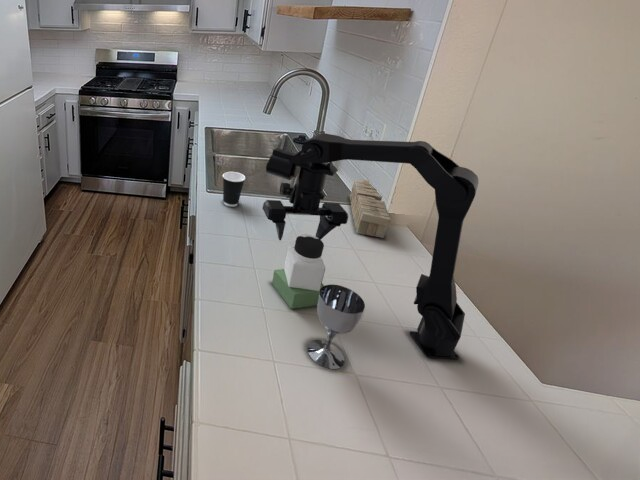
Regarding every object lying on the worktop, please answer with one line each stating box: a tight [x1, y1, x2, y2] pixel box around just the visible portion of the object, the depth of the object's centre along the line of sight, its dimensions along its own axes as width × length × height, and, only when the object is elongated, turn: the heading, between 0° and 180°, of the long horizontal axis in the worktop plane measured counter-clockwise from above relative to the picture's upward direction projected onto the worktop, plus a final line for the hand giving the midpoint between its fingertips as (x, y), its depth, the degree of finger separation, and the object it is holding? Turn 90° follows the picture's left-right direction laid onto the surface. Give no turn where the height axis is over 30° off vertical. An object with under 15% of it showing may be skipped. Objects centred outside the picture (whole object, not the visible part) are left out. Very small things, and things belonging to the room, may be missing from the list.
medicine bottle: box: [283, 233, 327, 291], centre depth 93 cm, size 7×7×12 cm
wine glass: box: [306, 284, 366, 370], centre depth 78 cm, size 8×8×15 cm
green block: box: [271, 268, 325, 310], centre depth 96 cm, size 9×9×4 cm
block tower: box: [349, 179, 392, 239], centre depth 131 cm, size 8×8×29 cm
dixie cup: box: [222, 171, 246, 208], centre depth 138 cm, size 8×8×11 cm
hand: (297, 240), depth 98 cm, fingers open, 9 cm apart
